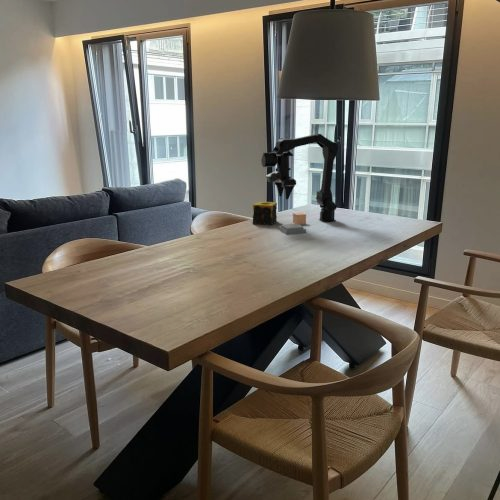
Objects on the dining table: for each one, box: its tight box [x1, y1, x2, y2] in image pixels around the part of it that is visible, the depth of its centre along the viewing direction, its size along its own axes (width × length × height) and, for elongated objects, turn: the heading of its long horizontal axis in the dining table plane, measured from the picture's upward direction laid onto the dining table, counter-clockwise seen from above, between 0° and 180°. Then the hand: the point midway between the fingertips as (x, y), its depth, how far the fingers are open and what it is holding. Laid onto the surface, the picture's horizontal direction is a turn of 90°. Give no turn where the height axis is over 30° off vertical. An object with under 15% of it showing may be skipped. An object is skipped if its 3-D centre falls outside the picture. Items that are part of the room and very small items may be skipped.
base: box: [277, 223, 307, 235], centre depth 230 cm, size 10×10×2 cm
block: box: [292, 212, 307, 225], centre depth 246 cm, size 5×5×5 cm
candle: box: [252, 201, 278, 226], centre depth 247 cm, size 10×10×10 cm
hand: (283, 197), depth 242 cm, fingers open, 9 cm apart
